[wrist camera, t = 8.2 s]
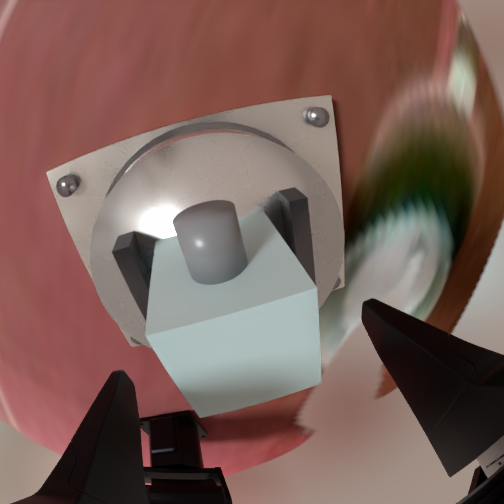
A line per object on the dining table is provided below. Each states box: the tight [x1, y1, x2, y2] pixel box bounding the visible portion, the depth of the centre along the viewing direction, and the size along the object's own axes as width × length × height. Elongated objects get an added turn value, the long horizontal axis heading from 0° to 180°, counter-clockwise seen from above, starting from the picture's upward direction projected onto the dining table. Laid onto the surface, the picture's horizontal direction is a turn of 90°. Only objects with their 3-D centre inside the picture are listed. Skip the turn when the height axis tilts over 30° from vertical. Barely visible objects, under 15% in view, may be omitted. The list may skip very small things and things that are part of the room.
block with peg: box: [145, 200, 321, 418], centre depth 11 cm, size 7×5×6 cm
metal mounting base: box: [46, 95, 345, 349], centre depth 16 cm, size 14×17×6 cm
